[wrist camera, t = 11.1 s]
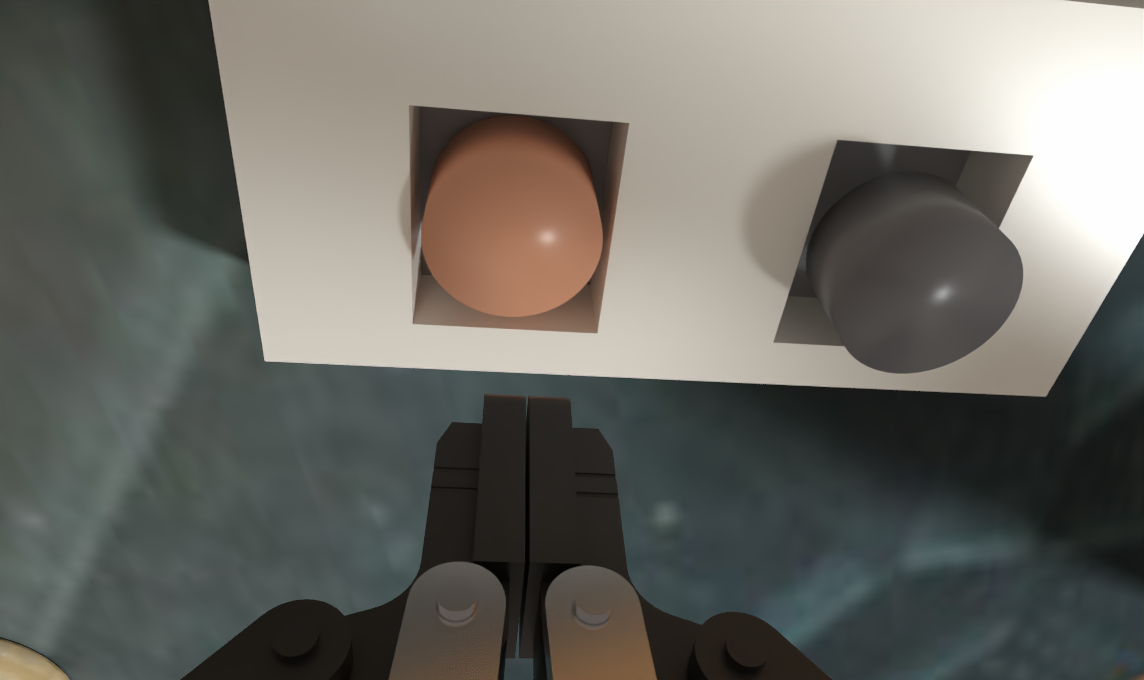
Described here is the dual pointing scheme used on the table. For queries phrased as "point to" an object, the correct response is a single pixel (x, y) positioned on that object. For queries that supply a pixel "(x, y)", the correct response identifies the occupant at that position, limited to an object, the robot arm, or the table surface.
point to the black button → (912, 273)
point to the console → (680, 170)
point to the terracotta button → (512, 217)
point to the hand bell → (26, 664)
